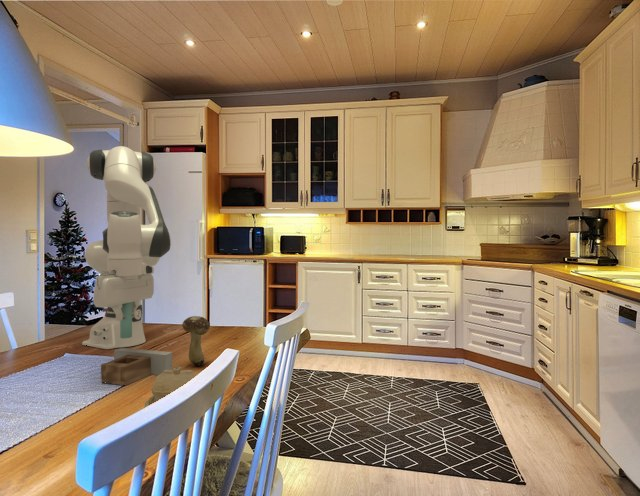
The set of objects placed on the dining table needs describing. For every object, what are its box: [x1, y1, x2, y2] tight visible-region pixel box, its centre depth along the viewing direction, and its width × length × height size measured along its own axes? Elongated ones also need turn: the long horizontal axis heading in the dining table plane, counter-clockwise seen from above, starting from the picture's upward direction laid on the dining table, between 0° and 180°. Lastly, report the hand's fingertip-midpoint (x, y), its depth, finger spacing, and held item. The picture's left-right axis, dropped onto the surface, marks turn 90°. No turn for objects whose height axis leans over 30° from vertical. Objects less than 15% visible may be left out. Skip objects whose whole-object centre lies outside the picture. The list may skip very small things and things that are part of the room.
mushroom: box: [181, 315, 211, 367], centre depth 128 cm, size 9×9×15 cm
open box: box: [100, 355, 152, 386], centre depth 116 cm, size 8×10×5 cm
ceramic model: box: [144, 366, 197, 408], centre depth 95 cm, size 14×11×10 cm
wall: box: [113, 347, 173, 376], centre depth 122 cm, size 18×3×6 cm, turn 73°
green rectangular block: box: [120, 302, 132, 338], centre depth 116 cm, size 3×3×10 cm
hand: (125, 318), depth 116 cm, fingers closed on green rectangular block, 3 cm apart
